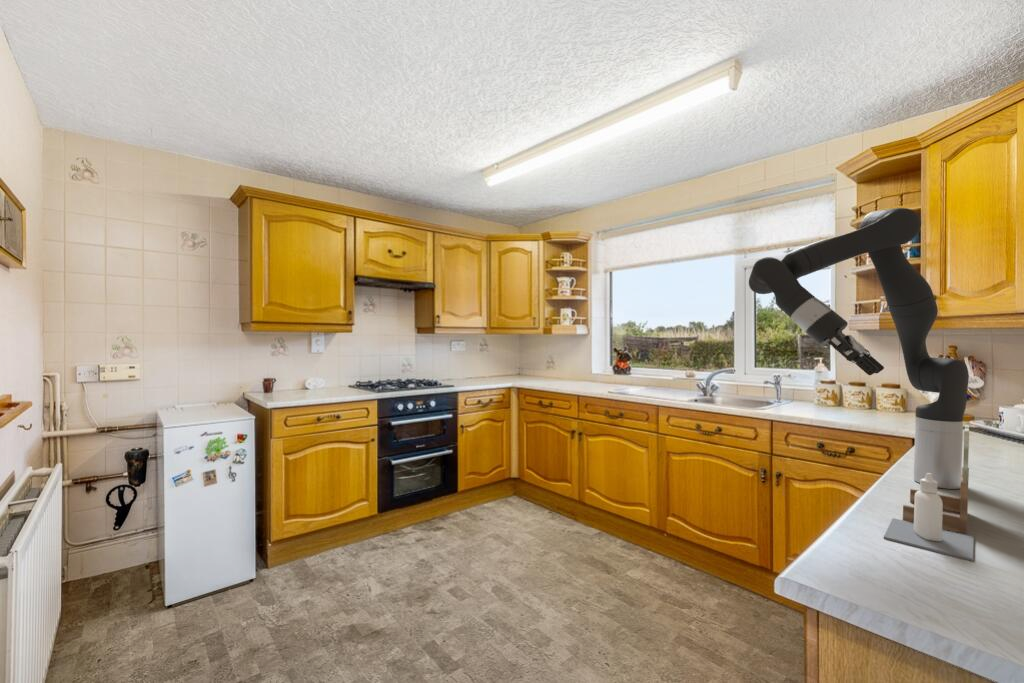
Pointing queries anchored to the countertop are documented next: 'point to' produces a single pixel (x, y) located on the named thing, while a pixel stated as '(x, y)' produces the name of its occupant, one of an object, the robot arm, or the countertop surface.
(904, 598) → the countertop surface
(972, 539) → the slate mat
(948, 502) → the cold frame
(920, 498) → the eye dropper bottle
